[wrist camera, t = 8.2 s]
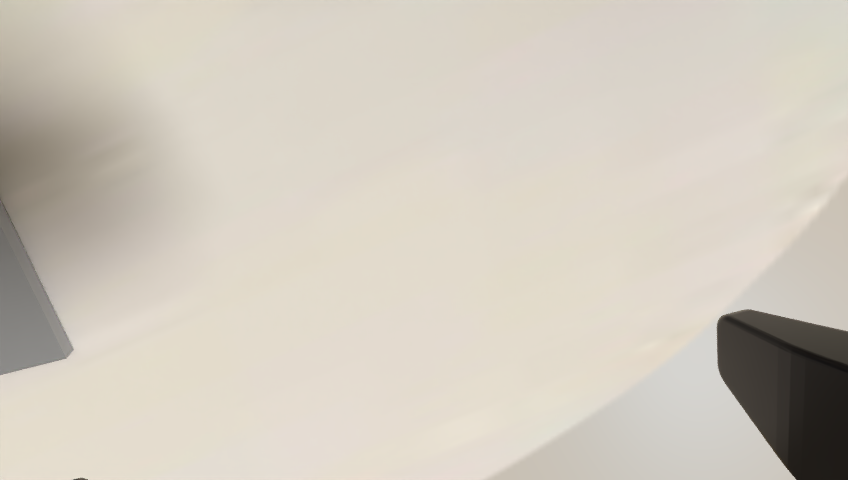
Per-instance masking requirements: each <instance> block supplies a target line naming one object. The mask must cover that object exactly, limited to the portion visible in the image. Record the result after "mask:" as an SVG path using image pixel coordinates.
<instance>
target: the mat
mask: <svg viewBox="0 0 848 480" xmlns="http://www.w3.org/2000/svg"><path fill="white" fill-rule="evenodd" d="M73 350H74V349H73V347H72V345H71V343H70V341H69V339H68V337H67V335H66V333H65V331H64V329H63V327H62V325H61V323H60V321H59V319H58V316H57V314H56V312H55V310H54V308H53V306H52V304H51V302H50V300H49V298H48V296H47V294H46V292H45V290H44V288H43V286H42V284H41V282H40V280H39V278H38V275H37V273H36V271H35V269H34V267H33V265H32V263H31V261H30V259H29V257H28V255H27V253H26V251H25V249H24V247H23V245H22V243H21V241H20V239H19V237H18V234H17V232H16V230H15V228H14V226H13V224H12V222H11V220H10V218H9V216H8V214H7V212H6V210H5V208H4V206H3V204H2V202H1V200H0V375H3V374H7V373H11V372H14V371H18V370H22V369H26V368H30V367H34V366H38V365H42V364H46V363H50V362H54V361H58V360H62V359H66V358H67V357H68V356H69V355H70V353H71V352H72V351H73Z"/></svg>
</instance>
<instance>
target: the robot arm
mask: <svg viewBox="0 0 848 480" xmlns="http://www.w3.org/2000/svg"><path fill="white" fill-rule="evenodd" d="M717 354H718V368H719V372H720V375H721V377H722V379H723V381H724V382H725V384H726V385H727V387H728V388H729V389H730V391H731V392H732V394H733V395H734V396H735V398H736V399H737V400H738V402H739V403H740V405H741V406H742V407H743V409H744V410H745V412H746V413H747V414H748V416H749V417H750V419H751V420H752V421H753V423H754V424H755V425H756V427H757V428H758V430H759V431H760V432H761V434H762V435H763V437H764V438H765V439H766V441H767V442H768V444H769V445H770V446H771V447H772V449H773V451H774V452H775V453H776V455H777V456H778V457H779V459H780V460H781V461H782V463H783V464H784V465H785V466H786V468H787V469H788V470H789V471H790V473H791V474H792V475H793V476H794V477H795V479H796V480H848V331H843V330H839V329H834V328H830V327H825V326H821V325H816V324H812V323H808V322H803V321H799V320H794V319H789V318H785V317H781V316H776V315H772V314H768V313H763V312H759V311H754V310H741V311H737V312H734V313H730V314H726V315H723V316H721V317H720V318H719V320H718V323H717ZM74 480H88V479H85V478H78V479H74Z"/></svg>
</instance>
